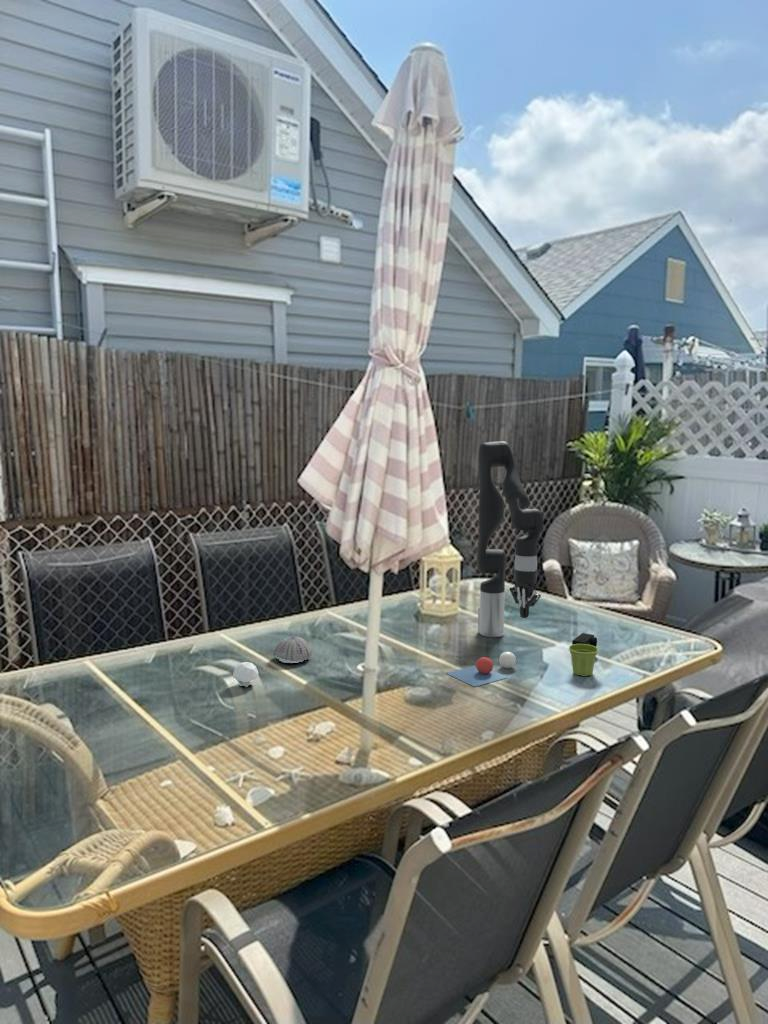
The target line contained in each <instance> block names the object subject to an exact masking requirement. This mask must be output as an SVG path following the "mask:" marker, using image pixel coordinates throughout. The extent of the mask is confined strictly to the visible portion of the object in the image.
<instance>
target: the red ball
mask: <svg viewBox="0 0 768 1024" xmlns="http://www.w3.org/2000/svg"><path fill="white" fill-rule="evenodd" d="M475 666H476V668H477V670H478V671H479V672H480V673H482V674H488V673H490V672H491V671H493V668H494V663H493V661H492V660H491V659H490V658H489V657H487V656H482V657H479V659H477V661H476V664H475Z"/></svg>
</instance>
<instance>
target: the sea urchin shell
mask: <svg viewBox="0 0 768 1024" xmlns="http://www.w3.org/2000/svg"><path fill="white" fill-rule="evenodd" d="M273 654H275V655H276V656H277V657H279V658H282V659H285V660H290V661H297V660H305V659H307V658H309V657H310V658H312V657H311V656H312V655H313V649H312V648H311V645H309V643H308V641H306V639H304V638H302V637H300V636H288V637H284V639H282V640H280V641H279V642H278V644H276V646H275V647H274V649H273Z"/></svg>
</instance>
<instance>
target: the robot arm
mask: <svg viewBox="0 0 768 1024" xmlns="http://www.w3.org/2000/svg"><path fill="white" fill-rule="evenodd" d="M502 467H504V469H505V470H506V471H505V472H506V473H505V478H504V479H503V483H502V493H503V496H504V497H505V500H506V502H507V505H508V507H509V515H510V516H509V517H510V523H511V526H512V527H513V528H514V530H517V531H526V534H524V535H522V536H520V537H517V538H516V540H515V555H514V567H513V568H514V571H513V580H514V582H515V583H514V586H512V587H509V592H510V594H511V595H512V597H513V600H514V602H515V604H516V605H518V606H519V616H520V618H522V619H527V618H529V615H530V607H535V605H536V603H538V601H539V599H540V598H541V597H542V594H540V593H538V592H537V587H536V582H537V581H538V578H537V577H538V556H537V555H538V542H539V537H540V534H541V531H542V528H543V525H544V515H543V513H542V512H541V510H540V509H538V508H527V507H528V506H529V504H530V499H529V496H528V495H527V492H526V490H525V488H524V486H523V484H522V481H521V479H520V476H519V471H518V468H517V464H516V460H515V457H514V453H513V450H512V448H511V447H510V445H509V443H508V442H507V441H504V440H499V441H488V442H482V443H481V444H480V445H479V448H478V471H479V473H478V475H479V498H478V500H479V501H478V542H477V543H478V544H477V554H476V555H477V556H476V567H477V571H478V573H481V574H496V575H495V576H493V577H492V578H490V579H487V580H484V581H482V582H481V583H480V588H479V589H480V591H479V592H480V595H479V596H480V597H479V608H478V609H477V612H478V613H477V632H478V633H479V635H481V636H482V637H485V638H486V637H487V638H500V637H503V636H504V632H505V592H506V591H505V589H506V588H505V586H506V585H505V582H506V579H505V577H506V568H507V566H506V564H507V554H506V551H505V550H504V549H500V548H497V549H496V548H488V549H487V546H488V543H489V542H490V539H491V538H492V536H493V535H494V534H495V532H496V531H497V530H498V529H499V527H500V525H501V524H502V522H503V520H504V518H505V517H504V516H505V501H504V498H503V496H502V493H501V492H500V490H499V489H498V488H497V486H496V484H495V483H494V481H493V478H492V472H491V471H492V468H502Z"/></svg>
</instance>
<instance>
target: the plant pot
mask: <svg viewBox="0 0 768 1024" xmlns="http://www.w3.org/2000/svg"><path fill="white" fill-rule="evenodd" d="M568 650H569V652H570V655H571V656H570V658H571V664H572V673H573V674H575V675H576V674H577V675H581V676H580V677H582V676H585V677H587V676H588V677H590V676H589V675H591V676H592V675H593V673H594V667H595V663H596V662H595V661H596V657H597V653H598V652H599V648H598V647H597V646H596V647H595V646H592V645H587V644H573V645H572V644H571V645H569V646H568ZM577 675H576V676H577Z"/></svg>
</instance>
